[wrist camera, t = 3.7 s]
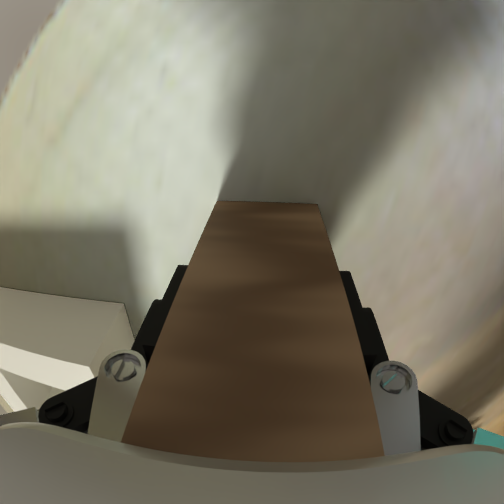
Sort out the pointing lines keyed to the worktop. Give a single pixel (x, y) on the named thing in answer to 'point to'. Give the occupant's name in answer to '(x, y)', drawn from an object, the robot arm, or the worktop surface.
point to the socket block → (54, 343)
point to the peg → (259, 348)
